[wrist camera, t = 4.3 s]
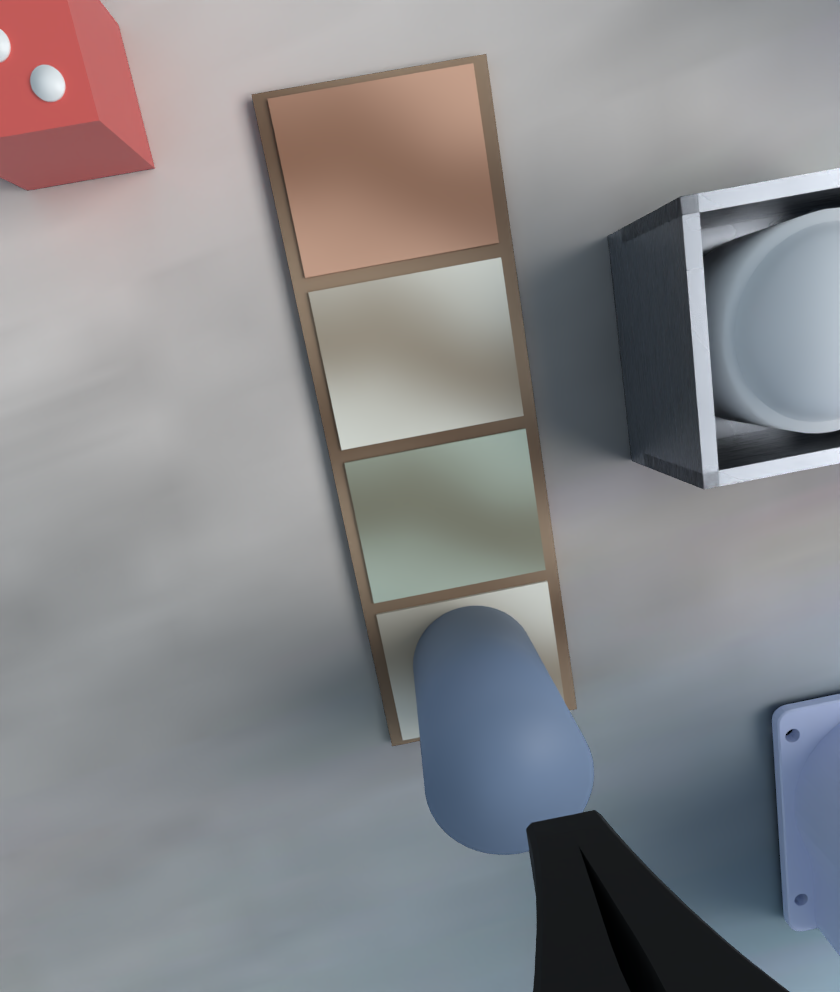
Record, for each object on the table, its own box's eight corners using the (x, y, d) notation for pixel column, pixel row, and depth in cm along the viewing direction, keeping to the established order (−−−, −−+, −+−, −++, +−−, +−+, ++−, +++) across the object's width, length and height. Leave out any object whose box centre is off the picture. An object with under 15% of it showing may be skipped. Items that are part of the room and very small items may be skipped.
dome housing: (837, 421, 20) (967, 438, 16) (631, 460, 20) (704, 489, 15) (831, 195, 18) (972, 144, 14) (607, 235, 18) (680, 196, 14)
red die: (154, 168, 17) (97, 119, 14) (27, 190, 17) (-62, 147, 14) (118, 25, 16) (48, -67, 13) (-16, 47, 16) (-123, -39, 13)
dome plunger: (844, 404, 18) (1004, 418, 14) (674, 436, 18) (776, 463, 14) (839, 218, 17) (1011, 165, 13) (657, 251, 17) (763, 210, 12)
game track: (574, 704, 22) (577, 710, 21) (392, 741, 21) (392, 748, 21) (484, 58, 17) (486, 52, 17) (253, 99, 17) (250, 92, 17)
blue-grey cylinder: (540, 708, 21) (600, 839, 15) (422, 727, 21) (437, 867, 15) (527, 596, 20) (586, 688, 14) (404, 615, 20) (412, 716, 14)
